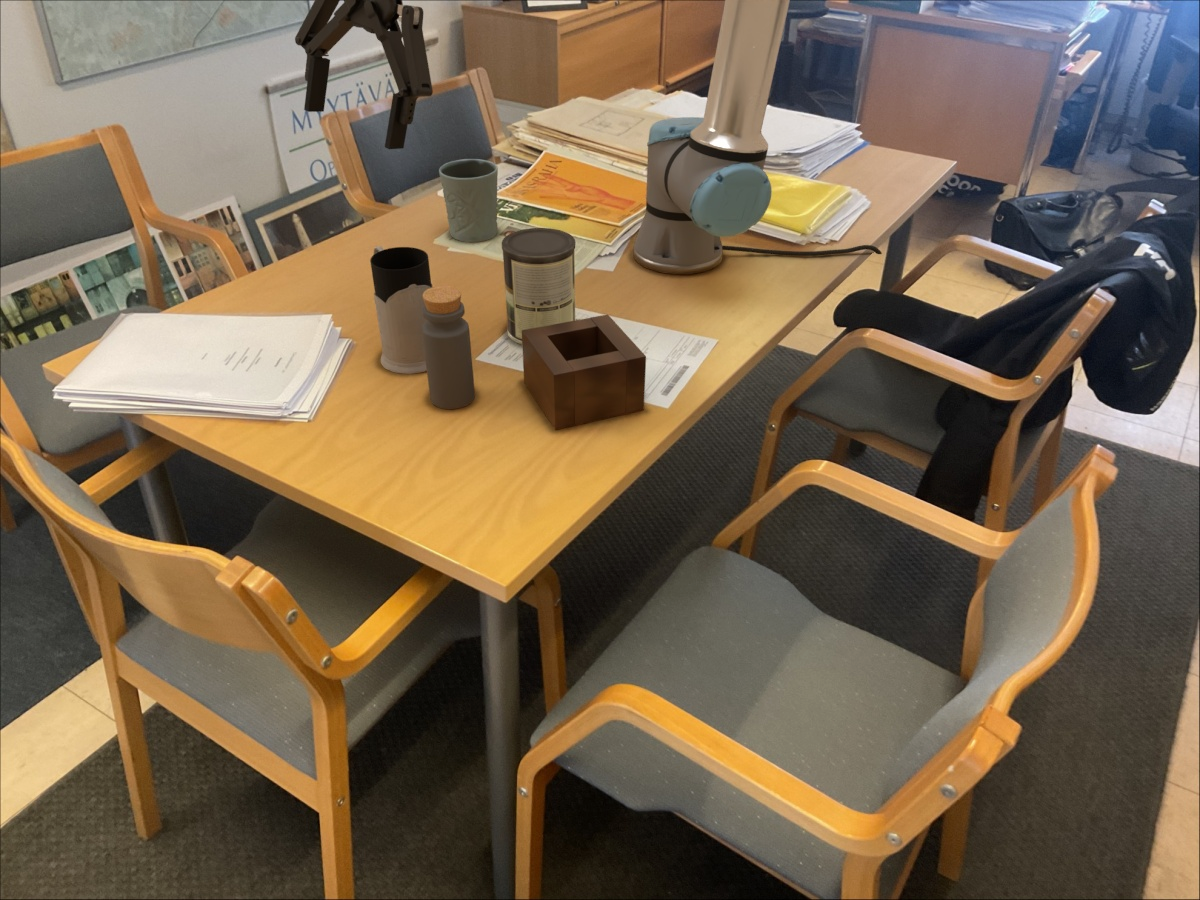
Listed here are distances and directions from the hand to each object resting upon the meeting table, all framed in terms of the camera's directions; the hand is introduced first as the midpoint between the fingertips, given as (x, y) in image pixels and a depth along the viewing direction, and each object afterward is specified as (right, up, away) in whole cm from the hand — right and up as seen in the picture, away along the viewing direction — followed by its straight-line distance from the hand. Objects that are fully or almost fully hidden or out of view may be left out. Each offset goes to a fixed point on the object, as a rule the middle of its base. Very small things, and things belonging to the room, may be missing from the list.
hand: (353, 129), depth 114 cm
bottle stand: (+29, -34, +4) cm, 45 cm away
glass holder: (+4, -27, +14) cm, 30 cm away
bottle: (+12, -34, +4) cm, 37 cm away
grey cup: (+8, -2, +49) cm, 50 cm away
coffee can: (+23, -23, +19) cm, 38 cm away
